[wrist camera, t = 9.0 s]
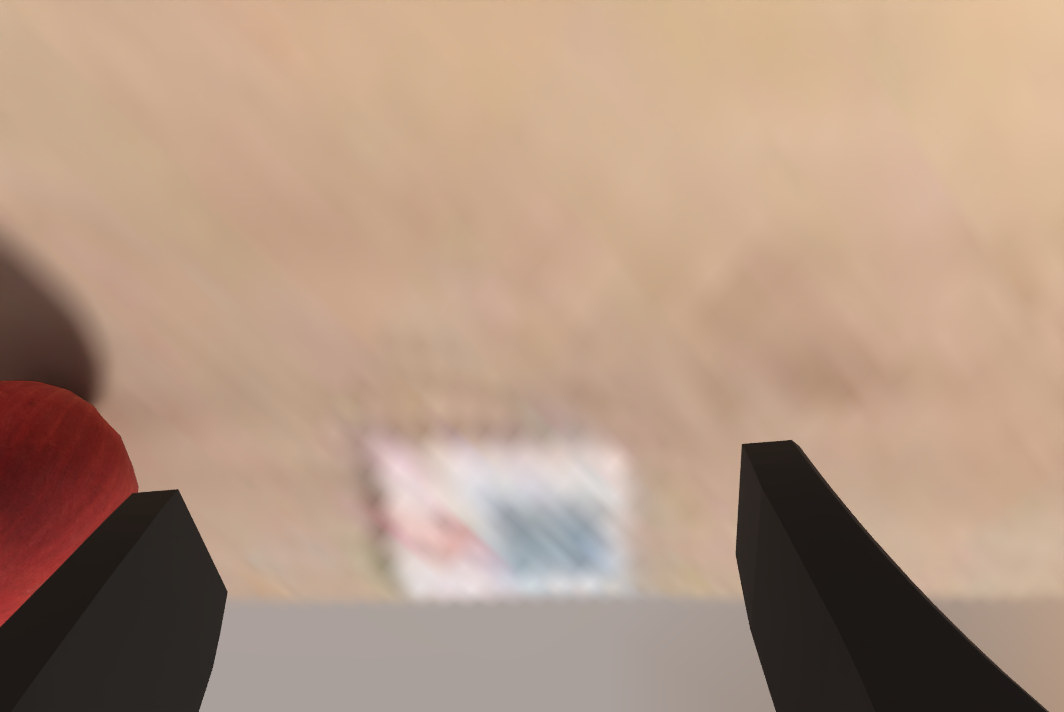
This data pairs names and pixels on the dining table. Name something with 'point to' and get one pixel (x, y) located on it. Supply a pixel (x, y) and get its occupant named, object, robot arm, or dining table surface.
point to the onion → (52, 483)
